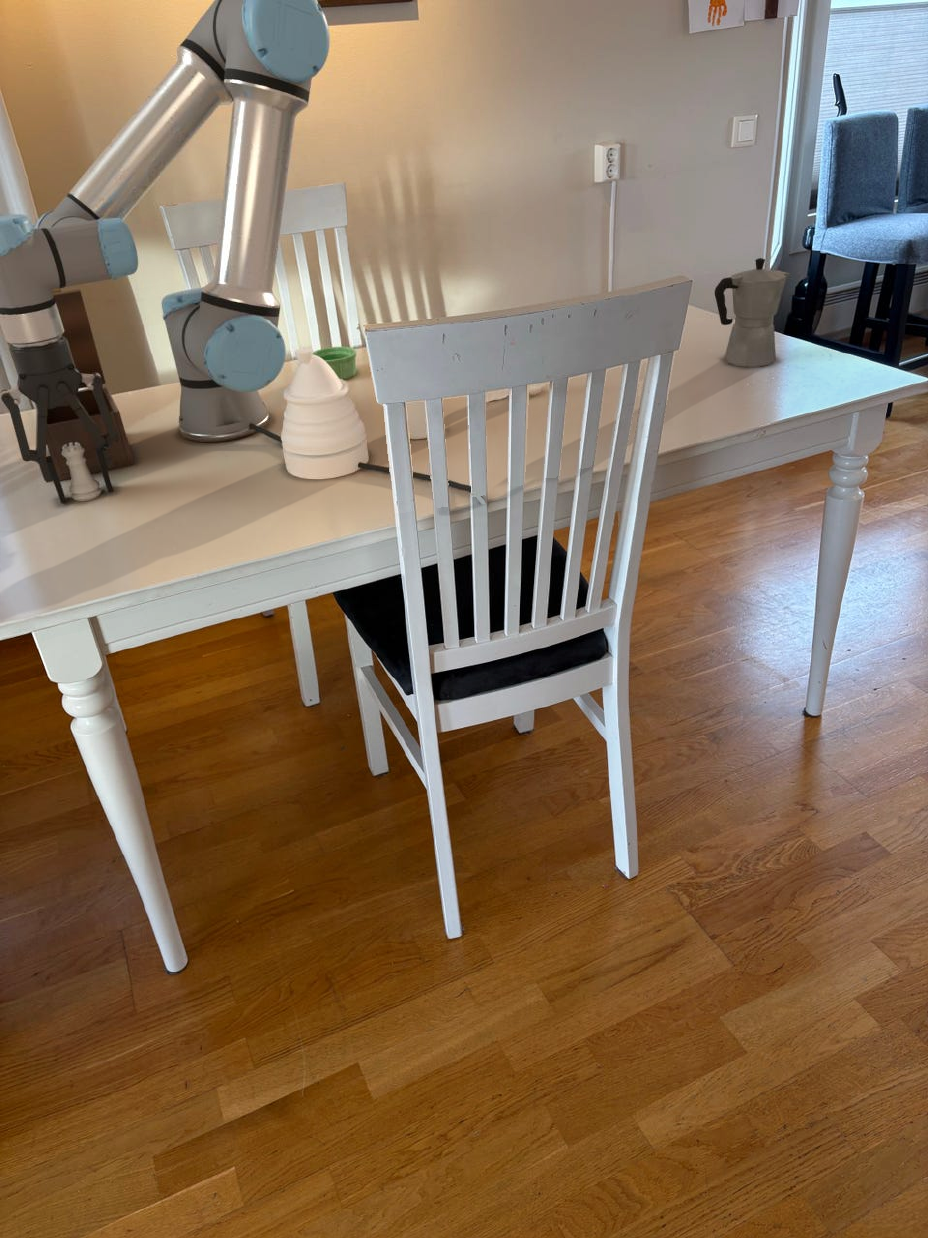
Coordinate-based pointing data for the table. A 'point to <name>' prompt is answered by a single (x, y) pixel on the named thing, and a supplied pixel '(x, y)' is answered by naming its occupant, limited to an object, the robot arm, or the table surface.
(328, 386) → the honey pot
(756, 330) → the coffeepot
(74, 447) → the rook chess piece
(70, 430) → the box
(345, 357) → the ramekin
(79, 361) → the box lid
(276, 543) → the table surface
